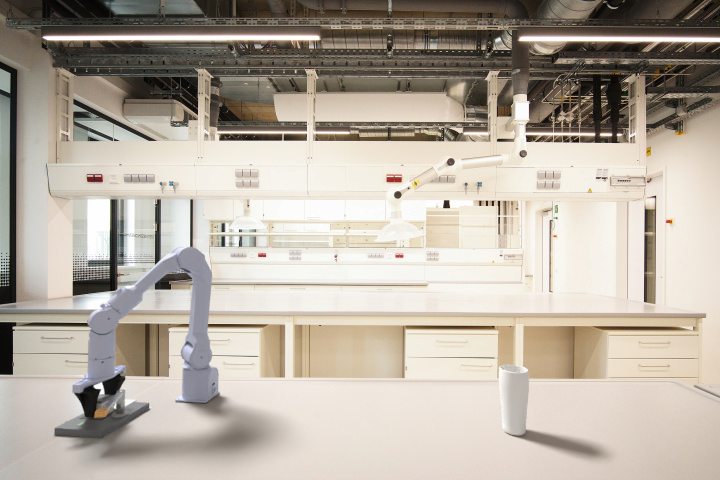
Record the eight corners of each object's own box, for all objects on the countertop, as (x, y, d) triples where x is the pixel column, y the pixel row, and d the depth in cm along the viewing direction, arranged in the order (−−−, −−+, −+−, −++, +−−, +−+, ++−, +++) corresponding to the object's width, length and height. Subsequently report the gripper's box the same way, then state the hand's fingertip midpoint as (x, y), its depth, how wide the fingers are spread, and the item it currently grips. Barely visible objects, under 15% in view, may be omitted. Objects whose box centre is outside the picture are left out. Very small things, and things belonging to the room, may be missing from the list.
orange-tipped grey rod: (117, 411, 93) (117, 389, 94) (126, 410, 94) (126, 388, 94) (93, 437, 80) (94, 412, 81) (104, 436, 81) (105, 411, 81)
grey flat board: (151, 406, 101) (151, 399, 101) (101, 437, 85) (101, 428, 85) (111, 404, 103) (111, 396, 103) (54, 434, 86) (54, 425, 86)
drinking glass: (527, 427, 91) (527, 365, 92) (530, 440, 85) (530, 374, 85) (498, 422, 93) (498, 363, 94) (499, 435, 87) (499, 371, 88)
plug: (113, 410, 95) (114, 394, 95) (101, 417, 91) (101, 401, 91) (92, 409, 96) (92, 393, 96) (79, 416, 92) (79, 399, 92)
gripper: (109, 348, 101) (108, 398, 101) (61, 364, 87) (59, 423, 87) (133, 349, 101) (132, 400, 100) (88, 366, 86) (86, 425, 86)
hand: (100, 411), depth 93 cm, fingers open, 6 cm apart
